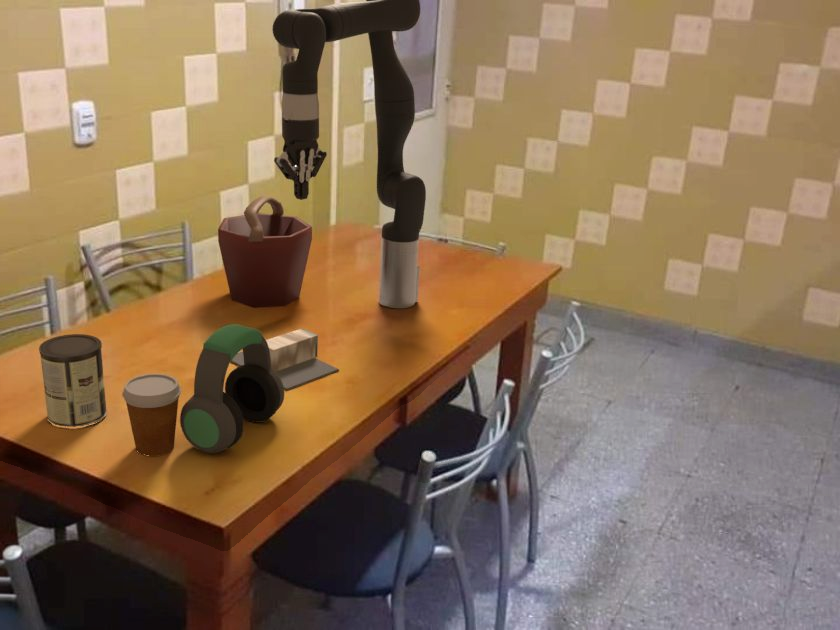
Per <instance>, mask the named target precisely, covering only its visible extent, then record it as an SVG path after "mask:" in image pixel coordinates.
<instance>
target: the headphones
mask: <svg viewBox="0 0 840 630" xmlns="http://www.w3.org/2000/svg"><path fill="white" fill-rule="evenodd" d="M266 340H267V339H266V338H265V337H264V336H263V334H262V331H261V330H260V329H257V328H254V327H251V326H250V327H249V326H245V325H240V324H234V323H233V324H228V325H224V326H222V327H220V328H219V329H217V330H215V331H214V332H213V333H212V334H211V335H209V337H208V338H207V339H206V340H205V341H204V343H203V346H202V350H201V352H200V354H199V356H198V360H197V363H196V367H195V373H194V380H193V381H194V383H193V394H192V396H191V397H190V398H189V399H188V400H186V402H185V403H184V404H183V406H182V408H181V411H180V416H179V422H180V428H181V432H182V433H183V436H184V437H185V438H186V440H187V441H188V442H189V443H190V445H191V446H192V447H194V448H195V449H197V450H198V451H200V452H203V453H206V454H218V453H220V452H223V451H225V450H228V449H230V448H231V447H234V446H235V445H236V444H237V443H238V442H239V441H240V440H241V438H242V437H243V434H244V431H245V429H244V428H245V421H247V422H251V423H262V422H263V423H264V422H266V421H267V420H270V418H272V417H273V416H274V415H275V414H276V413H277V411H278V410H279V409H280V407H281V406H282V404H283V403H284V399H285V389H284V387H283V383H282V381H281V378H280V377H279V375H278V374H277V373H276V372H275V371H274V370H273V369H272V368H271V359H270V351H269V347H268V344H267V341H266ZM241 351H242V352H243V356H244V365H241V366H237V367H236V368H234V369H233V370H231V371H230V372H229V374H228V375H227V371H228V369H229V365H230V364H231V363H232V362H231V361H232V359H233V358H234V357H235V355H236V354H237V353H240V352H241ZM226 375H227V377H226ZM225 379H226V380H225ZM224 390H225V391H224Z"/></svg>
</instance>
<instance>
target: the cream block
mask: <svg viewBox="0 0 840 630" xmlns="http://www.w3.org/2000/svg"><path fill="white" fill-rule="evenodd" d="M318 336H319V335H318V334H316V333H314V332H312V331H309V330H307V329H304V328H299V329H297V330H293V331H290V332H287V333H283V334H280V335H277V336H275V337H272V338H267V339H265V340H266V341H267V344H268V347H269V351H270V359H271V368H272V369H273V370H274V371H275V372H276V371H279V370H282V369H284V368H287V367H290V366H293V365H296V364H298V363H301V362H304V361H307V360H310V359H312V358H318V348H319V347H318V345H319V343H318V341H319V340H318V339H319V338H318Z"/></svg>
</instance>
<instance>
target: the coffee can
mask: <svg viewBox="0 0 840 630" xmlns="http://www.w3.org/2000/svg"><path fill="white" fill-rule="evenodd" d="M102 344H103V343H102V341H101V339H99V337H96V336H94V335H89V334H85V333H84V334H81V333H79V334H78V333H76V334H75V333H73V334H63V335H59V336H55V337H51V338H49V339H47V340H45V341H43V342H42V343H40V345H39V347H38V351H39V355H40V360H41V363H40V364H41V370H42V371H41V372H42V379H43V388H44V396H45V397H44V398H45V404H46V415H47V417H48V420H49V421H50V422H51V423H53V424H55V425H59V426H65V427H66V426H67V427H76V426H84V425H89V424H92V423H96V422H98V421H100V422H102V421H103V420H104V419H105V418H106V417H107V415H106V414H108V410H107V404H106V403H107V401H106V391H105V379H104V365H103V355H102V347H103V345H102ZM105 416H106V417H105ZM104 417H105V418H104ZM103 418H104V419H103ZM102 419H103V420H102ZM48 420H47V421H48ZM101 420H102V421H101Z"/></svg>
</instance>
